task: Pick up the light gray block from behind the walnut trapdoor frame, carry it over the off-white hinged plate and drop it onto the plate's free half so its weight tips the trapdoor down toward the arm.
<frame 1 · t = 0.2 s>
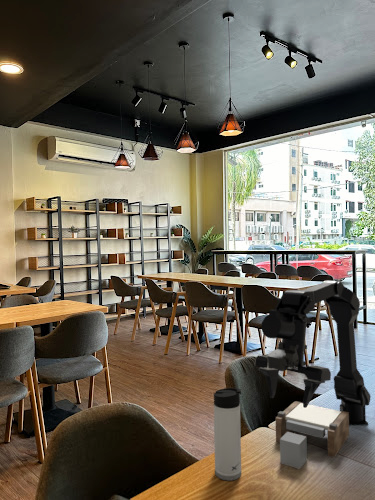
hand: (288, 402, 100), 15 cm above the table, tool pointing down, fingers open, 9 cm apart
light gray block: (293, 461, 100), on the table
trapdoor frame: (314, 436, 113), on the table
travel mug: (228, 474, 95), on the table
trapdoor: (312, 419, 112), point 5 cm above the table, hinge at 0.0°
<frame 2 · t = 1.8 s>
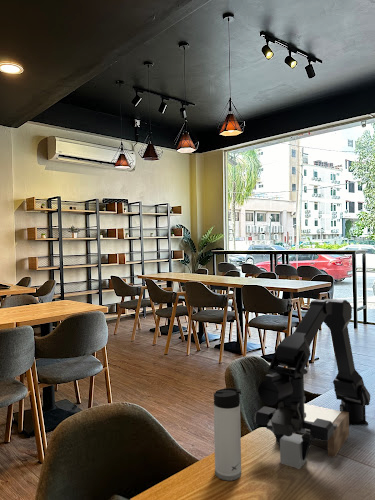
hand: (293, 456, 100), 1 cm above the table, tool pointing down, fingers closed on light gray block, 5 cm apart
light gray block: (293, 461, 100), on the table, touching gripper
everything else where it was.
when the fingers open (11 cm above the table, at t = 6.6 s): light gray block drops 7 cm, resting on trapdoor.
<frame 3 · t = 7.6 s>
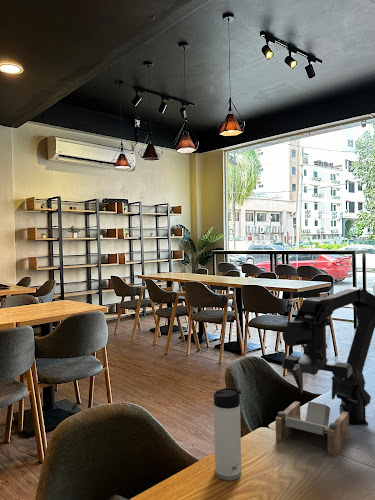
hand: (316, 395, 116), 11 cm above the table, tool pointing down, fingers open, 9 cm apart
light gray block: (316, 426, 115), point 2 cm above the table, tilted 28°, touching trapdoor
trapdoor: (311, 428, 112), point 3 cm above the table, hinge at -27.6°, touching light gray block
everything else where it was.
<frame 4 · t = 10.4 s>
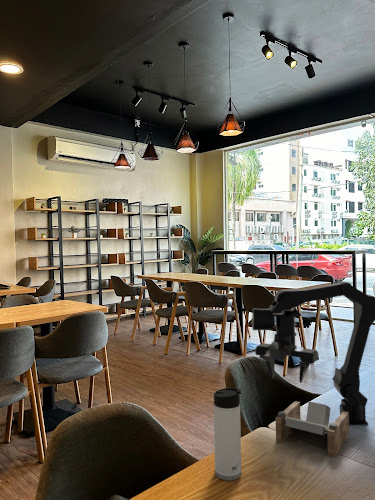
hand: (286, 380, 125), 12 cm above the table, tool pointing down, fingers open, 9 cm apart
trapdoor: (311, 428, 112), point 3 cm above the table, hinge at -27.6°, touching light gray block
everything else where it was.
at the end: light gray block point 2.1 cm above the table; light gray block moved 18.7 cm from its start; the gripper is holding nothing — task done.
